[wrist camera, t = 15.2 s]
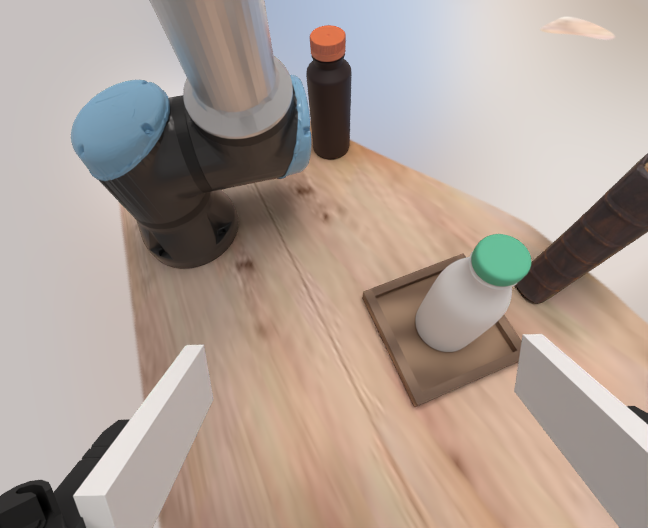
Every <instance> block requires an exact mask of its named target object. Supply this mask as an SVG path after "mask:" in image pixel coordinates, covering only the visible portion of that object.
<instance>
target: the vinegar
mask: <svg viewBox="0 0 648 528" xmlns="http://www.w3.org/2000/svg"><path fill="white" fill-rule="evenodd" d="M345 42H346V41H345V32H344V31H343V30H342V29H341V28H339V27H336V26H330V25H328V26H322V27H319V28H316V29H315V30H313V31H312V33H311V35H310V47H311V54H312V58H313V61H312V62H311V63H310V64H309V66H308V68H307V85H308V96H309V106H310V117H311V128H312V138H313V148H314V150H315V152H316V153H317V154H318V155H319V156H321V157H323V158H327V159H335V158H338V157H341V156H343V155H344V154H345V153H346V152H347V151H348V148H349V141H350V105H351V67H350V65H349V64H348V62H347V61H346V60H344V56H345Z"/></svg>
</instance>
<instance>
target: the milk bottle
mask: <svg viewBox="0 0 648 528" xmlns="http://www.w3.org/2000/svg"><path fill="white" fill-rule="evenodd" d="M530 267H531V256H530V253H529V251H528V250H527V248H526V247H525V246H524V245H523V244H522V243H521V242H520V241H519V240H517V239H515V238H513V237H511V236H508V235H503V234H494V235H490V236H487V237H485V238H484V239H482V240H481V241H480V242H479V243H478V244H477V246H476V247H475V249H474V251H473V252H472V253H471V255H470V257H467V258H463V259H460V260H457V261H455V262H453V263H452V264H450V265H449V266H447V267H446V268H445V269H444V270H443V271H442V272H441V273H440V275H439V276H438V277H437V279H436V280H435V282H434V283H433V285H432V287H431V288H430V290H429V291H428V293H427V295H426V297H425V298H424V300H423V302H422V303H421V305H420V307H419V309H418V311H417V314H416V319H415V323H416V328H417V331H418V333H419V335H420V337H421V338H422V340H423V341H424V342H425V343H426V344H428V345H429V346H430V347H432V348H434V349H436V350H439V351H443V352H454V351H458V350H460V349H462V348H464V347H465V346H467V345H468V344H470V343H471V342H472V341H474V340H475V339H476V338H478V337H479V336H480V335H482V334H483V333H484V332H485V331H487V330H488V329H489V328H491V327H492V326H493V325H494V324H495V323H496V322H497V321H498V320H500V318H501V317H502V316H503V315H504V313H505V312H506V310H507V309H508V306H509V304H510V301H511V296H512V287H513V286H515V285H516V284H517V283H518V282H519V281H520V280H522V279H523V278H524V277H525V276H526V275H527V273H528V272H529V270H530Z"/></svg>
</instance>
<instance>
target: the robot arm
mask: <svg viewBox="0 0 648 528" xmlns="http://www.w3.org/2000/svg"><path fill="white" fill-rule="evenodd" d="M150 2H151V4H152V6H153V8H154V10H155V12H156V15H157V17H158V19H159V21H160V23H161V25H162V27H163V29H164V31H165V33H166V35H167V37H168V39H169V41H170V44H171V45H172V48H173V50H174V52H175V54H176V56H177V58H178V60H179V62H180V64H181V66H182V68H183V70H184V72H185V74H186V76H187V79H186V82H185V85H184V94H183V96H177V97H171V98H168V96H167V94H166V93H165V92H164V91H163V90H162V89H161V88H160V87H159V86H158V85H156V84H154V83H152V82H147V81H145V80H130V81H125V82H122V83H119V84H116V85H113V86H111V87H109V88H107V89H105V90H104V91H102V92H100V93H99V94H97V95H96V96H95V97H93V98H92V99H91V100H90V101H89V102H88V103H87V104H86V105H85V106H84V107H83V108H82V110H81V111H80V112H79V114H78V115H77V117H76V119H75V121H74V124H73V126H72V132H71V141H72V145H73V148H74V150H75V152H76V154H77V155H78V156H79V158H80V159H81V160H82V161H83V163H84V164H85V165H86V167H87V168H88V169H89V171H90V173H91V174H92V176H94V177H95V178H96V179H98V180H99V181H100V182H101V183H102V184H103V185H104V186H105V187H106V188H107V189H108V191H109V192H110V193H111V194H112V195H113V196H114V197H115V198H116V199H117V200H118V201H119V202H120V203H121V204H122V205H123V206H124V207H125V208H126V209H127V211H128V212H129V213H130V214H131V215H132V216H133V217H134V218H135V219H136V220H137V223H138V226H139V229H140V232H141V235H142V238H143V241H144V244H145V245H146V247H147V249H148V250H149V251H150V252H151V253H152V254H153V255H154V256H155V257H156V258H157V259H158V260H159V261H161V262H162V263H164V264H166V265H169V266H172V267H176V268H192V267H197V266H201V265H204V264H206V263H208V262H210V261H212V260H214V259H216V258H217V257H219V256H220V255H221V254H222V253H223V252H225V250H226V249H227V248H228V247H229V246H230V245H231V243H232V242H233V240H234V238H235V236H236V233H237V230H238V215H237V212H236V210H235V207H234V205H233V203H232V201H231V200H230V198H229V197H228V196H227V195H226V194H225V193H224V192H223V191H222V189H226V188H231V187H236V186H241V185H246V184H251V183H255V182H261V181H266V180H271V179H276V178H277V179H282V178H285V177H286V176H288V175H292V174H296V173H299V172H301V171H303V170H304V169H305V168H306V167H307V165H308V163H309V160H310V155H311V133H310V115H309V108H308V103H307V97H306V94H305V90H304V87H303V84H302V82H301V80H300V79H299V78H298V77H297V76H295V75H290V74H289V72H288V71H287V69H286V67H285V66H284V64H283V63H282V62H281V61H280V60H279V59H277V58H276V57H275V56H273V50H272V44H271V38H270V32H269V26H268V20H267V15H266V8H265V1H264V0H150ZM514 392H515V393H516V394H517V395H518V397H519V398H520V399H521V401H522V402H523V403H524V404H525V406H526V407H527V408H528V410H529V411H530V412H531V414H532V415H533V416H534V417H535V419H536V420H537V421H538V423H539V424H540V425H541V427H542V428H543V429H544V430H545V432H546V433H547V434H548V436H549V437H550V438H551V439H552V441H553V442H554V443H555V445H556V446H557V447H558V449H559V450H560V451H561V452H562V454H563V455H564V456H565V458H566V459H567V460H568V462H569V463H570V464H571V465H572V467H573V468H574V469H575V471H576V472H577V473H578V474H579V476H580V477H581V478H582V480H583V481H584V482H585V484H586V485H587V486H588V487H589V489H590V490H591V491H592V493H593V494H594V495H595V496H596V498H597V499H598V500H599V502H600V503H601V504H602V506H603V507H604V508H605V509H606V511H607V512H608V513H609V515H610V516H611V517H612V519H613V520H614V521H615V522H616V524H617V525H618V526H619V528H648V413H646V412H644V411H643V410H641V409H639V408H637V407H635V406H625V405H624V404H623V403H622V402H621V401H620V400H618V399H617V398H616V397H615V396H614V395H613V394H611V393H610V392H609V391H608V390H607V389H606V388H604V387H603V386H602V385H601V384H600V383H599V382H597V381H596V380H595V379H594V378H593V377H592V376H590V375H589V374H588V373H587V372H586V371H585V370H583V369H582V368H581V367H580V366H579V365H578V364H576V363H575V362H574V361H573V360H572V359H571V358H569V357H568V356H567V355H566V354H565V353H564V352H562V351H561V350H560V349H559V348H558V347H557V346H555V345H554V344H553V343H552V342H551V341H550V340H548V339H547V338H546V337H545V336H544V335H543V334H525V335H523V336H522V343H521V350H520V356H519V363H518V370H517V376H516V383H515V390H514ZM212 401H213V393H212V387H211V382H210V376H209V370H208V364H207V359H206V353H205V347H204V345H186V346H185V347H184V348H183V350H182V351H181V352H180V354H179V355H178V357H177V358H176V359H175V361H174V362H173V363H172V365H171V366H170V367H169V369H168V370H167V371H166V373H165V374H164V375H163V377H162V378H161V379H160V381H159V382H158V383H157V385H156V386H155V387H154V389H153V390H152V391H151V393H150V394H149V395H148V397H147V398H146V399H145V401H144V402H143V403H142V405H141V406H140V407H139V409H138V410H137V411H136V413H135V414H134V415H133V417H132V418H131V419H130V420H118V421H117V422H115V423H114V424H113V425H111V426H110V427H109V428H107V429H106V430H105V431H104V432H102V434H101V435H100V436H99V437H98V439H97V440H96V441H95V442H94V444H93V445H92V447H91V449H89V450H88V451H87V452H86V453H85V455H84V456H83V457H82V460H81V461H79V462H78V463H77V465H76V466H75V467H74V468H73V469H72V471H71V472H70V473H69V474H68V475H67V477H66V478H65V479H64V480H63V482H62V483H61V484H60V485H59V487H58V488H57V489H56V490H55V491H54V493H53V490H52V488H51V486H50V484H49V482H46V481H43V480H35V481H29V482H26V483H24V484H21V485H18V486H16V487H14V488H12V489H11V490H9V491H7V492H5V493H4V494H2V495H1V496H0V528H153V526H154V524H155V522H156V520H157V518H158V516H159V514H160V511H161V509H162V507H163V505H164V503H165V501H166V499H167V497H168V495H169V492H170V490H171V488H172V486H173V484H174V482H175V480H176V478H177V475H178V473H179V471H180V469H181V467H182V465H183V463H184V461H185V459H186V456H187V454H188V452H189V450H190V448H191V446H192V444H193V442H194V440H195V437H196V435H197V433H198V431H199V429H200V427H201V425H202V423H203V421H204V418H205V416H206V414H207V412H208V410H209V408H210V406H211V404H212Z"/></svg>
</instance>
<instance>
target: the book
mask: <svg viewBox="0 0 648 528" xmlns="http://www.w3.org/2000/svg"><path fill="white" fill-rule="evenodd" d="M647 232H648V154H646V155H645V156H644V157H643V158H642V159H641V160H640V161H638V162H637V163H636V165H634V166H633V167H632V168H631V169H630V170H629V171H628V172H627V173H626V174H625V175H624V176H623V177H622V178H621V179H620V180H619V181H618V182H617V183H616V184H615V185H614V186H613V187H612V188H611V189H609V191H607V192H606V194H605V195H604V196H603V197H602V198H600V199H599V200H598V201H597V202H596V203H595V204H594V205H593V206H592V207H591V208H590V209H589V210H588V211H587V212H586V213H585V214H583V215H582V216H581V218H580V219H578V221H576V222H575V223H574V224H573V225H572V226H571V227H570V228H569V229H568V230H567V231H565V232H564V233H563V234H562V235H561V236H560V237H559V238H558V239H557V240H556V241H554V242H553V243H552V244H551V245H550V246H549V247H548V248H547V249H546V250H545V251H543V252H542V253H541V254H540V255H539V256H538V257H537V258H536V259H535V260H533V261H532V262H531V267H530V270H529V272H528V273H527V275H526V276H525V277H524V278H523V279H522V280H520V281H519V282H518V283H517V284H516V286H517V287H518V289H519V290H520V291H521V293H522V294H523V295H524V296H525V297H526V298H527V299H529V300H530V301H532V302H535V303H541V302H544V301H545V300H547V299H549V298H551V297H552V296H554V295H555V294H556V293H558V292H559V291H561V290H562V289H564V288H565V287H567V286H568V285H570V284H571V283H573V282H574V281H575V280H577V279H578V278H580V277H581V276H583V275H584V274H586V273H587V272H589V271H591V270H592V269H594V268H595V267H596V266H598V265H600V264H601V263H602V262H604V261H605V260H607V259H608V258H610V257H611V256H613V255H614V254H616V253H617V252H618V251H620V250H622V249H623V248H625V247H626V246H627V245H629V244H630V243H632V242H634V241H635V240H636V239H638V238H639V237H641V236H642V235H644V234H645V233H647Z"/></svg>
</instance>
